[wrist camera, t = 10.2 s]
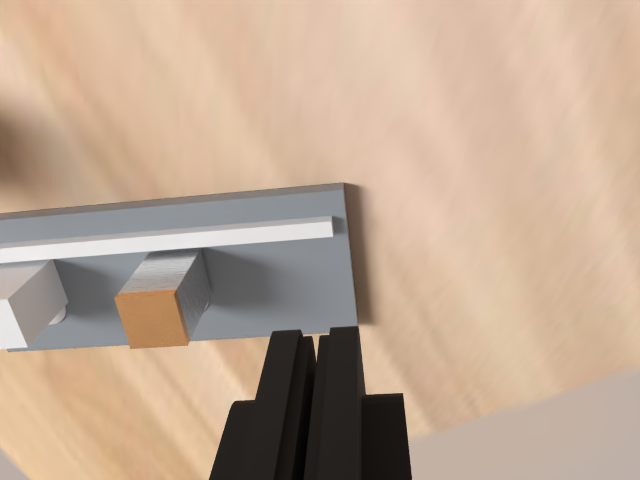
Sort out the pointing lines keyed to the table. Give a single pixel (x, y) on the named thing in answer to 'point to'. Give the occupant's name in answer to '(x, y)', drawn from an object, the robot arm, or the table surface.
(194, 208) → the divider plate
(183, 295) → the block
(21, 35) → the table surface
